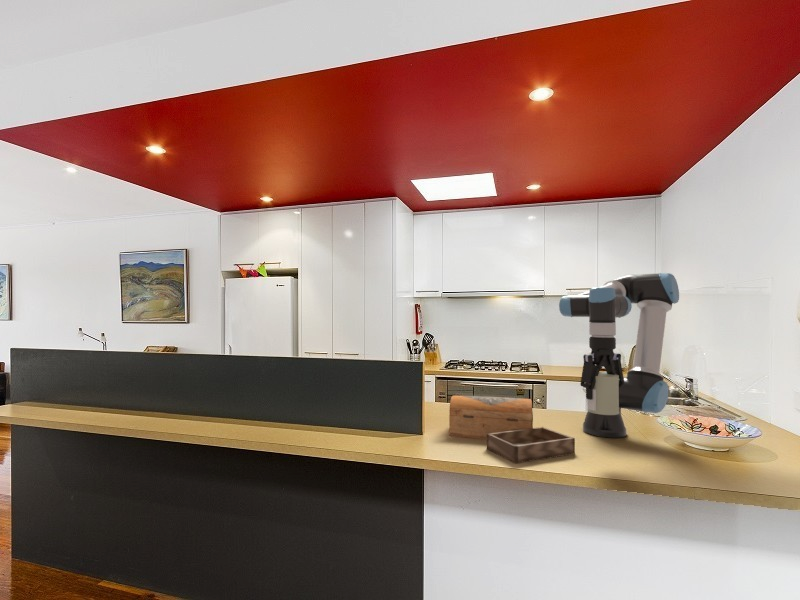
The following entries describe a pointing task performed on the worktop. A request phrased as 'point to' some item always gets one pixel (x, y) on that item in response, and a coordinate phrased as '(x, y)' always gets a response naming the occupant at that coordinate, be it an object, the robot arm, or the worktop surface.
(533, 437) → the crate
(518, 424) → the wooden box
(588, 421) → the robot arm
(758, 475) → the worktop surface
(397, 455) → the worktop surface
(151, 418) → the worktop surface
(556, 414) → the worktop surface
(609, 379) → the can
